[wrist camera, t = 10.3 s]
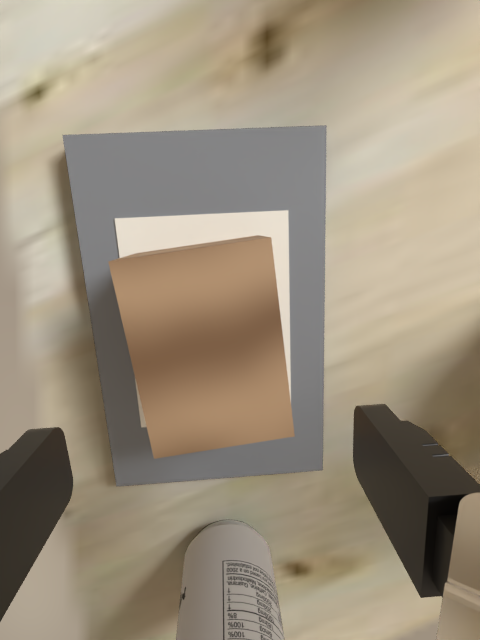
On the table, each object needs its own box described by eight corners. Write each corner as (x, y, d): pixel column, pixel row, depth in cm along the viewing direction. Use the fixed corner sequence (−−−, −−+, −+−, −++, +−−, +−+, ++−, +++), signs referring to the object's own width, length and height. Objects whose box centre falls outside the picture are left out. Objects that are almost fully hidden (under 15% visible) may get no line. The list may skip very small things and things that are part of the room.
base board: (316, 456, 25) (323, 471, 23) (122, 470, 24) (116, 487, 22) (318, 132, 20) (326, 125, 18) (74, 142, 19) (61, 134, 18)
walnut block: (277, 389, 22) (294, 436, 17) (168, 406, 21) (154, 458, 17) (257, 235, 19) (271, 237, 14) (136, 253, 19) (108, 261, 14)
